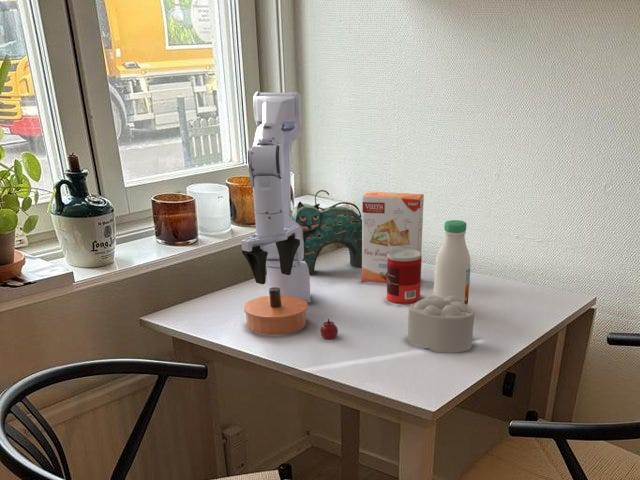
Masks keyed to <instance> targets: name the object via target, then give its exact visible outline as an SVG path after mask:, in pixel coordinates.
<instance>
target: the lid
mask: <svg viewBox="0 0 640 480" xmlns="http://www.w3.org/2000/svg"><path fill="white" fill-rule="evenodd" d="M268 295H269V296H266V295H264V296H260V297H256V298H252V299H250V300H248V301H247V302H245V304H244V305H243V312H244V313H245V315H246V314H248V315H250V316H252V317H256V318H261V319H284V318H290V317H294V316H297V315H300V314H302V313H304V312H305V313H306V311H307V310H308V308H309V305H308V302H306V301H304V300H303V299H300V298H297V297H293V296H284V295H281V292H280V288H277V287H273V288H270V289H269V294H268Z"/></svg>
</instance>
